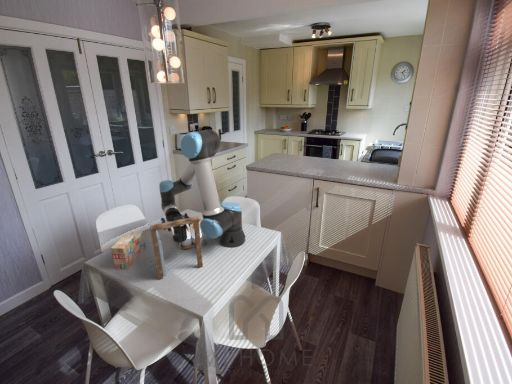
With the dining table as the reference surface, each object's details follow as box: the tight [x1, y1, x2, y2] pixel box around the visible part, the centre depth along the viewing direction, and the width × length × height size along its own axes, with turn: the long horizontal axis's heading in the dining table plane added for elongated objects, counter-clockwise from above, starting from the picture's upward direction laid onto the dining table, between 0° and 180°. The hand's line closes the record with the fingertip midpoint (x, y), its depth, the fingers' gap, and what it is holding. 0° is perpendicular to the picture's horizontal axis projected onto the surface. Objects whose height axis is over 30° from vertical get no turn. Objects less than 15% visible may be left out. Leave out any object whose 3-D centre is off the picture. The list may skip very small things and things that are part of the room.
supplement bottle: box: [172, 216, 188, 243], centre depth 134 cm, size 7×7×12 cm
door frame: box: [149, 215, 204, 280], centre depth 126 cm, size 21×2×27 cm, turn 117°
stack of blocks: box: [110, 231, 147, 270], centre depth 141 cm, size 21×6×12 cm, turn 178°
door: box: [156, 230, 167, 277], centre depth 130 cm, size 14×2×18 cm, turn 27°
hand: (181, 230), depth 129 cm, fingers closed on supplement bottle, 7 cm apart
